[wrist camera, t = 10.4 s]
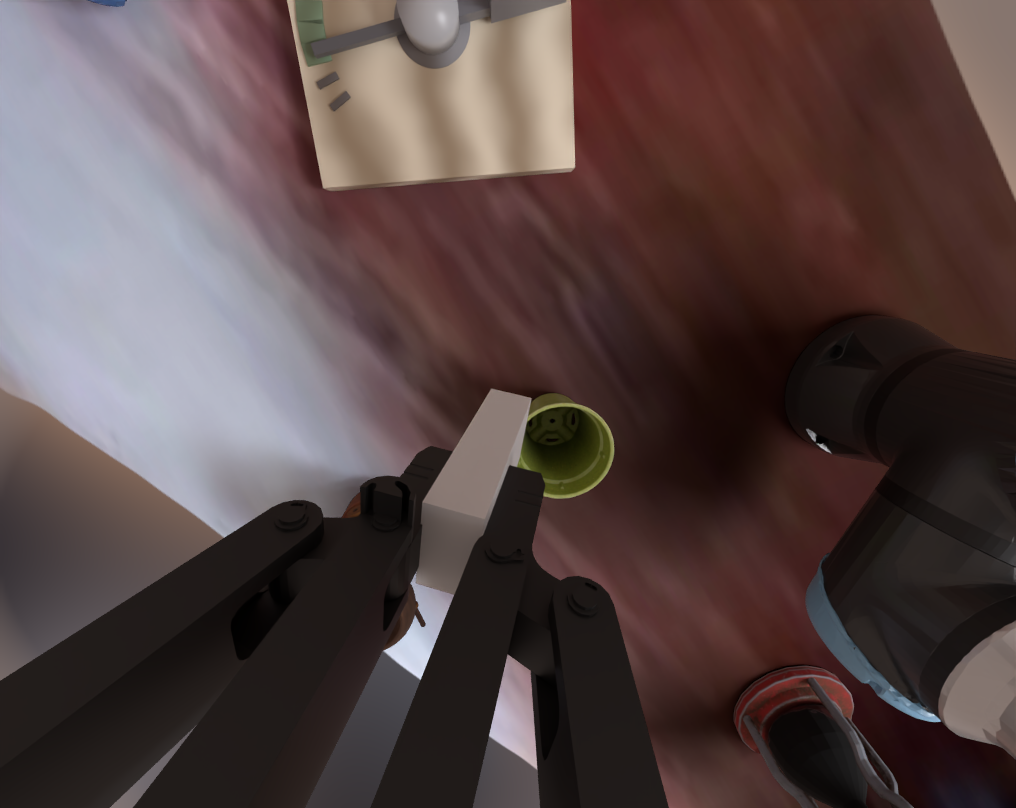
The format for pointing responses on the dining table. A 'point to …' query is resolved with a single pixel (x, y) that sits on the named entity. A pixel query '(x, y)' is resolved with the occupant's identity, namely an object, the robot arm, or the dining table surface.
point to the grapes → (110, 2)
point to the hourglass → (812, 739)
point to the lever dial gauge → (430, 23)
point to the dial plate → (437, 98)
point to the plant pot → (566, 446)
